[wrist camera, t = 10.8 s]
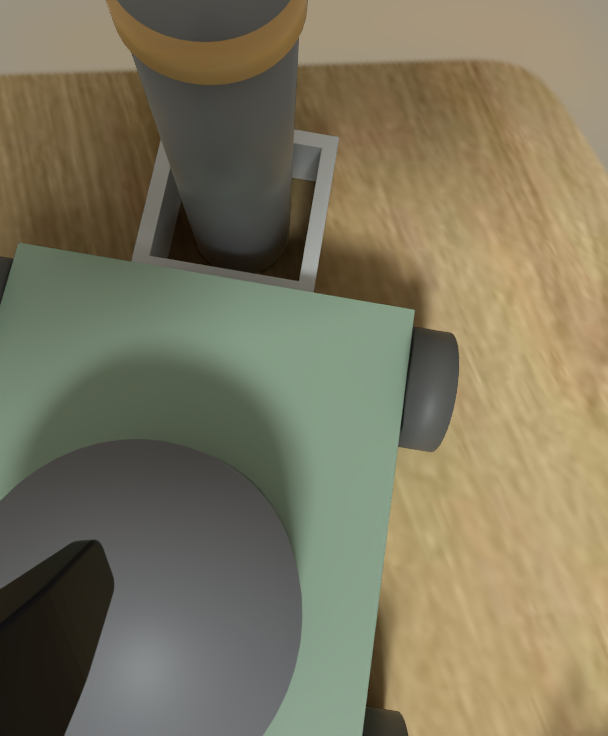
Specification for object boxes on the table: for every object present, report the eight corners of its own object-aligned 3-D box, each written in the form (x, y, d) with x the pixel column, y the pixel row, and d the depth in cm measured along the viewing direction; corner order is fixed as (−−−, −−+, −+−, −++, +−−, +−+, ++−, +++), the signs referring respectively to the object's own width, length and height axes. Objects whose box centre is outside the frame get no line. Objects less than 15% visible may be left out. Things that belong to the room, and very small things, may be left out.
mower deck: (371, 837, 19) (419, 1021, 12) (-119, 762, 19) (-324, 910, 12) (446, 191, 24) (508, 88, 18) (63, 125, 24) (-15, -5, 17)
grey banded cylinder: (288, 283, 23) (302, 54, 11) (185, 274, 23) (78, 33, 10) (295, 189, 24) (316, -122, 11) (196, 180, 23) (109, -144, 11)
